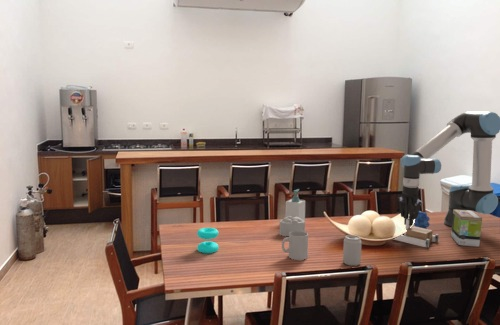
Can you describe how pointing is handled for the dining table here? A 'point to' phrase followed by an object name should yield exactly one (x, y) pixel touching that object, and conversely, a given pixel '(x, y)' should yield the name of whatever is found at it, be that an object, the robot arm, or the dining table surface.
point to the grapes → (422, 220)
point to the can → (352, 250)
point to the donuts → (207, 245)
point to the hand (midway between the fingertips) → (407, 231)
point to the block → (419, 233)
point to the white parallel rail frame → (417, 240)
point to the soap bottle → (295, 207)
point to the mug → (297, 245)
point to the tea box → (466, 227)
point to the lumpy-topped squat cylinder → (291, 225)
